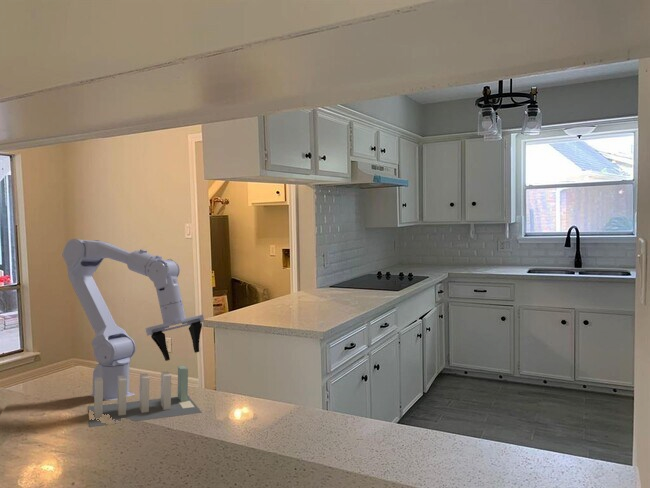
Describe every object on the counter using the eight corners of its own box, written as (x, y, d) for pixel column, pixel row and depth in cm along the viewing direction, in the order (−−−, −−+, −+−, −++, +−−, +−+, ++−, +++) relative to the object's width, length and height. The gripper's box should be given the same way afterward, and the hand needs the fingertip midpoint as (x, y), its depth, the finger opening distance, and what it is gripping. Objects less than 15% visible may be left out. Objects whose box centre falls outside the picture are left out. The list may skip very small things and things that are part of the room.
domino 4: (163, 410, 118) (164, 376, 119) (160, 404, 123) (161, 372, 123) (170, 409, 119) (171, 375, 119) (167, 403, 123) (167, 371, 124)
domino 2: (118, 415, 114) (119, 380, 114) (117, 409, 118) (117, 376, 119) (126, 414, 114) (126, 379, 115) (124, 409, 119) (124, 375, 119)
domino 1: (94, 418, 112) (95, 382, 112) (94, 412, 116) (94, 378, 116) (102, 417, 112) (103, 381, 113) (101, 411, 117) (102, 377, 117)
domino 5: (181, 401, 125) (181, 369, 126) (177, 397, 130) (178, 366, 130) (187, 401, 126) (187, 369, 126) (183, 396, 130) (184, 365, 131)
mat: (89, 428, 106) (89, 427, 106) (87, 408, 121) (88, 406, 121) (202, 414, 116) (202, 412, 116) (188, 397, 131) (188, 395, 131)
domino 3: (141, 412, 116) (142, 378, 116) (139, 407, 120) (139, 374, 121) (148, 411, 117) (149, 377, 117) (146, 406, 121) (146, 373, 121)
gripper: (145, 309, 121) (157, 363, 120) (202, 296, 129) (214, 348, 127) (140, 312, 127) (151, 364, 126) (195, 300, 135) (206, 349, 133)
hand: (182, 356), depth 127 cm, fingers open, 7 cm apart
